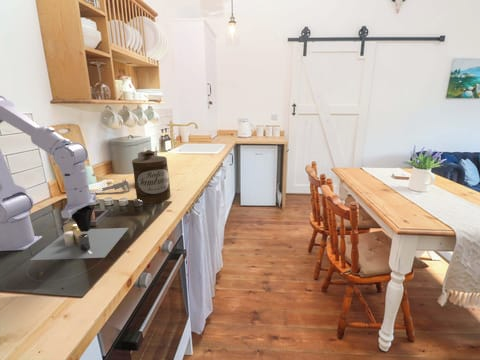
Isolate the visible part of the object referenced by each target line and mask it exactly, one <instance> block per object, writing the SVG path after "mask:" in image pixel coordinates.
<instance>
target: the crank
mask: <svg viewBox="0 0 480 360" xmlns="http://www.w3.org/2000/svg"><path fill="white" fill-rule="evenodd" d="M62 228H63V234H64V233H65V232H68V231H72V232H73V236H74V240H75V243H76V244H77V245H78V246H79V247H80V248H81V250H82V251H85V250H88V249H90V248H91V247H90V242H89V237H88V234H83V233H82V232H81V231H80V229H79V228H78V226H77V224H76V222H72V223H68V224H65V225H62Z"/></svg>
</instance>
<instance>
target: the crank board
mask: <svg viewBox="0 0 480 360" xmlns="http://www.w3.org/2000/svg"><path fill="white" fill-rule="evenodd" d="M127 230H129V227H115V228H90V230H89V231H87V232H82V233H83V234H88V237H89V242H90V247H91V248H90V249H88V250H85V251H82V250H81V248H80V247H79V246H78V245H77V244H76V243H75V240H74V236H73V232H72V231H68V232H65V233H64V232H63V234H61V235H60V236H59V237H58V238H56V239H55V240H54V241H52V242H51V243H50V244H49V245H47V246H46V247H45V248H43V249H42V250H41V251H40V252H38V253H37V254H36V255H35V256H32V258H31V259H30V261H46V260H49V261H50V260H74V259H75V260H76V259H78V260H79V259H80V260H81V259H102V258H106V257H107V256H108V254H109V253H110V251H112V249H114V247H115V245H117V243H118V242H119V241H120V240H121V238H122V237H123V235H124V234H125V233H126V232H127Z"/></svg>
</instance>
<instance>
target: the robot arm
mask: <svg viewBox="0 0 480 360" xmlns="http://www.w3.org/2000/svg"><path fill="white" fill-rule="evenodd" d="M3 122H5V123H7V124H8V125H11V127H14V128H15V129H17V130H19V131H21V132H22V133H24V134H26V135H28V136H30V141H31V143H32V144H33V145H35V146H37V147H38V148H40V149H41V150H43V151H44V152H45V153H47V154H49V155H51V156H52V160H53V162H54V164H56V165H57V167H58V170H59V172H60V173H61V176H62V180H63V186H64V190H65V195H66V199H67V203H66V204H65V207H64V208H63V209H62V210H61V211H60V214H61V217H62V219H69V218H72V219H73V220H74V221H75V222H76V224H77V226H78V228H79V229H80V231H81V232H87V231H89V230H90V229H91V226H90V223H91V216H92V212H93V210H95V205H94V204H95V203H96V200H97V193H90V191H91V190H90V187H89V180H88V176H87V169H86V168H87V167H86V163H85V162H86V161H87V159H88V156H89V154H88V150H87V148H86V147H85V146H84V145H83V144H82V143H80V142H72V141H71V140H70V139H68V138H66V137H64V136H62V135H61V134H59V132H57V131H56V129H55V128H54V127H51V126H40V125H38V124H37V123H36V122H35V121H34V120H32V119H31V118H30V117H28V116H27V115H25V114H24V113H23V112H21V110H19V109H18V108H16V107H15V104H14V102H13V101H11V100H9V99H8V98H6V97H5V96H3V95H0V125H1V124H2V123H3ZM92 204H93V205H92ZM33 207H34V201H33V198H32V197H31V195H30V194H29V193H28V192H27V190H26V188H25V187H23V186H21V185H19V184H16V183H15V181H14V178H13V176H12V174H11V171H10V168H9V166H8V164H7V162H6V160H5V157H4V155H3V153H2V150H1V149H0V252H4V251H5V252H6V251H7V252H8V251H9V252H10V251H24V250H25V251H26V250H27V249H28V248H29V247H31V246H32V245H34V244H35V243H36V242H38V241H39V240H41V239H42V238H43V236H42V235H35V232H34V228H33V224H32V220H31V217H30V214H31V213H32V211H31V210H32V209H33Z"/></svg>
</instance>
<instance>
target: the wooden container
mask: <svg viewBox="0 0 480 360" xmlns="http://www.w3.org/2000/svg"><path fill="white" fill-rule="evenodd" d="M152 151H153V150H150V149H149V150H146V151H144V152H145V155H146V156H145V157H140V158H138V157H136V158H134V159H132V160H131V164H132V169H133V178H134V188H135V195H136V200H137V199H140V200H142V201H143V202H147V203H146V204H149V203H148V202H156V203H160V202H159V201H161V202H164V201H166V200H168V199H170V197H171V186H170V185H171V184H170V177H169V168H168V167H169V166H168V159H167V156H161V155H157V156H153V155H152V154H153V152H152Z"/></svg>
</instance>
